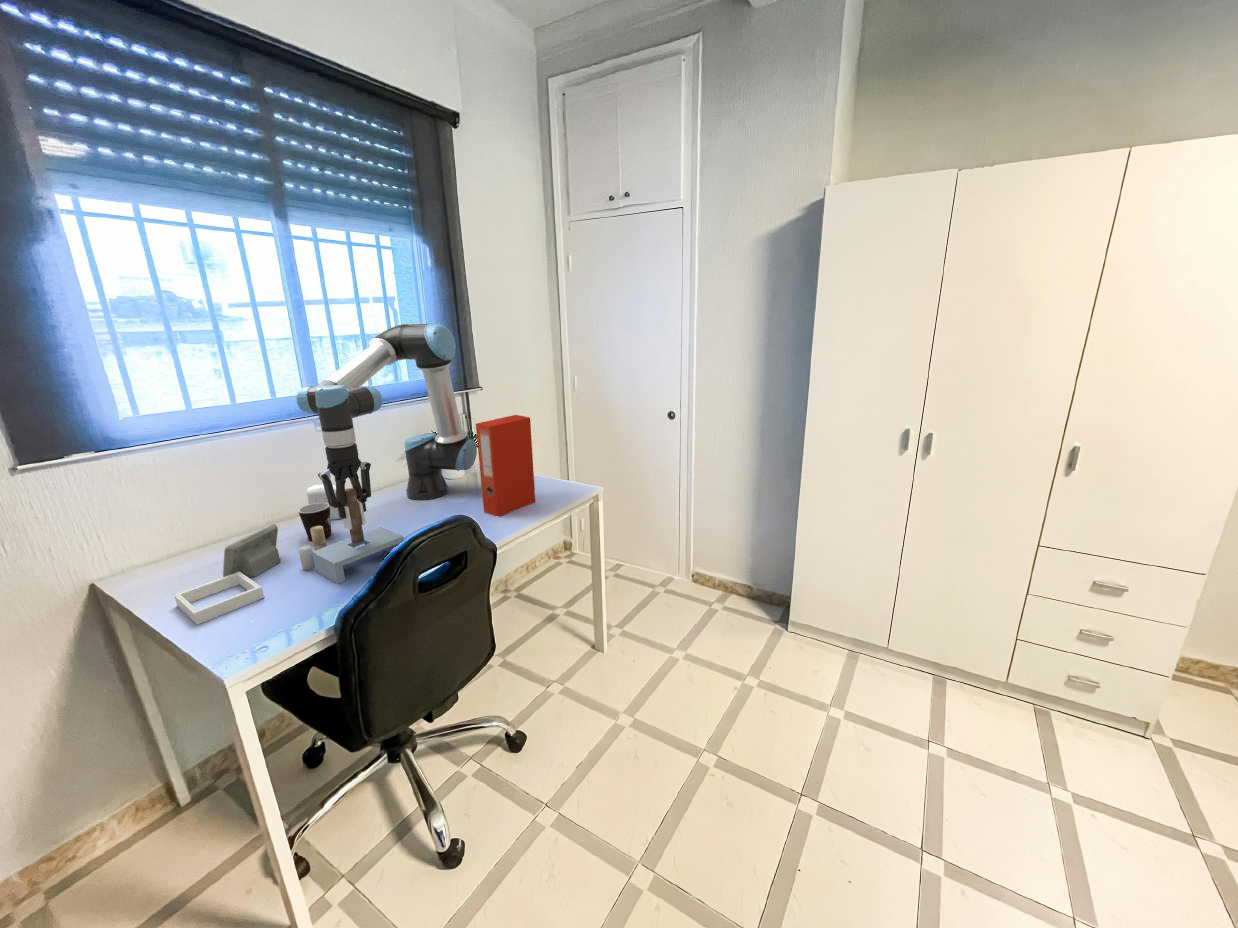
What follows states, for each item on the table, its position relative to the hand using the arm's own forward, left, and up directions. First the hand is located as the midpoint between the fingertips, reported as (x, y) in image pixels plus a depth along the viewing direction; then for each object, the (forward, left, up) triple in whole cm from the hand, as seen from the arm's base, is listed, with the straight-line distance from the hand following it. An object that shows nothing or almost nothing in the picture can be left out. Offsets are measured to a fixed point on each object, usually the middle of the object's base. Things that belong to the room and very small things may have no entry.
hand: (355, 525), depth 144 cm
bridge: (0, 0, -12) cm, 12 cm away
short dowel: (+10, -10, -12) cm, 18 cm away
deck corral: (+31, -10, -12) cm, 35 cm away
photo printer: (-11, -42, -12) cm, 45 cm away
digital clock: (+19, -23, -12) cm, 32 cm away
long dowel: (0, 0, -5) cm, 5 cm away
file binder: (-53, +4, -12) cm, 55 cm away
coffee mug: (-3, -29, -12) cm, 32 cm away
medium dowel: (+4, -14, -12) cm, 19 cm away
